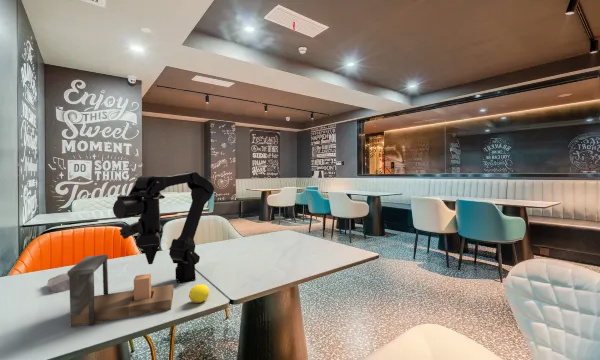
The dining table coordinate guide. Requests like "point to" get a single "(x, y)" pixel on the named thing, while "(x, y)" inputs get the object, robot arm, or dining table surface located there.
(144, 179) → the robot arm
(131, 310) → the socket stand
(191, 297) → the lemon
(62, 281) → the stone block
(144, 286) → the peg
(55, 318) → the dining table surface
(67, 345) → the dining table surface
